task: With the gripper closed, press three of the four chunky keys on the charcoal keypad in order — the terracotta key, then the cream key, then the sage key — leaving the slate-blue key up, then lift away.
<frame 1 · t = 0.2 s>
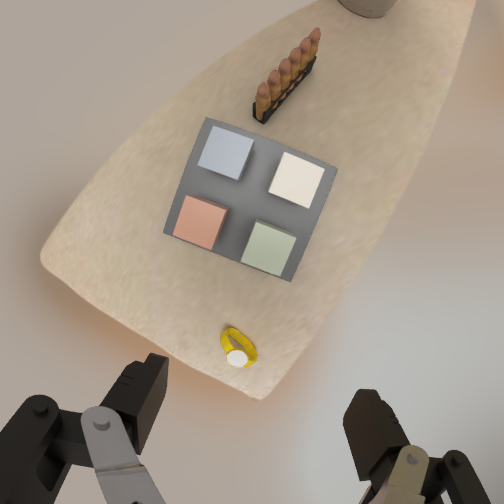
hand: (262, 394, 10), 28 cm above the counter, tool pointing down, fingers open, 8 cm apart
slate key: (227, 154, 30), point 5 cm above the counter, slide at 0.0 cm
sage key: (267, 246, 32), point 5 cm above the counter, slide at 0.0 cm
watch: (240, 337, 41), on the counter
terracotta key: (201, 220, 32), point 5 cm above the counter, slide at 0.0 cm
ammunition clip: (282, 92, 33), on the counter
keypad board: (249, 198, 36), on the counter
cream key: (294, 180, 31), point 5 cm above the counter, slide at 0.0 cm
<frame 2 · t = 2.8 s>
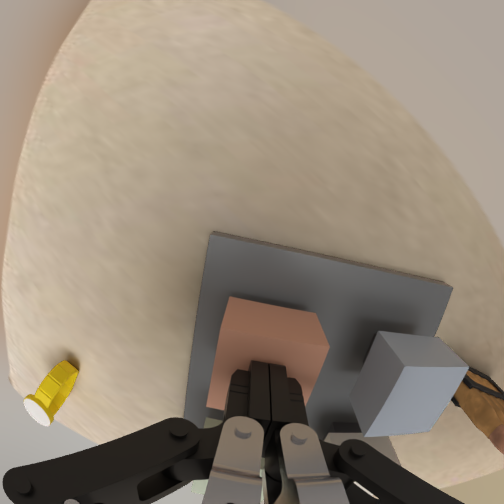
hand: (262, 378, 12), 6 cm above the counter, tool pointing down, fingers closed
slate key: (407, 385, 12), point 5 cm above the counter, slide at 0.0 cm
sage key: (234, 463, 14), point 5 cm above the counter, slide at 0.0 cm
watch: (71, 374, 20), on the counter
terracotta key: (263, 360, 13), point 4 cm above the counter, slide at 1.1 cm, touching gripper
ammunition clip: (461, 372, 19), on the counter
keypad board: (306, 381, 18), on the counter
cream key: (350, 469, 14), point 5 cm above the counter, slide at 0.0 cm
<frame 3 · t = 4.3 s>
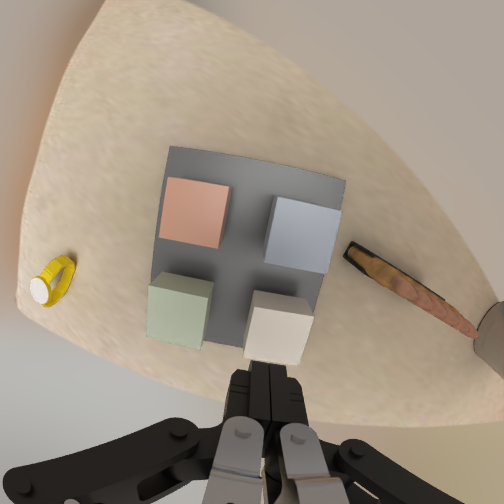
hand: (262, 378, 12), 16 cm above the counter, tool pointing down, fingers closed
slate key: (299, 232, 21), point 5 cm above the counter, slide at 0.0 cm
sage key: (179, 309, 23), point 5 cm above the counter, slide at 0.0 cm
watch: (69, 273, 28), on the counter
terracotta key: (196, 210, 22), point 4 cm above the counter, slide at 1.4 cm
ammunition clip: (385, 271, 28), on the counter
keypad board: (239, 256, 27), on the counter
cream key: (276, 327, 23), point 5 cm above the counter, slide at 0.0 cm
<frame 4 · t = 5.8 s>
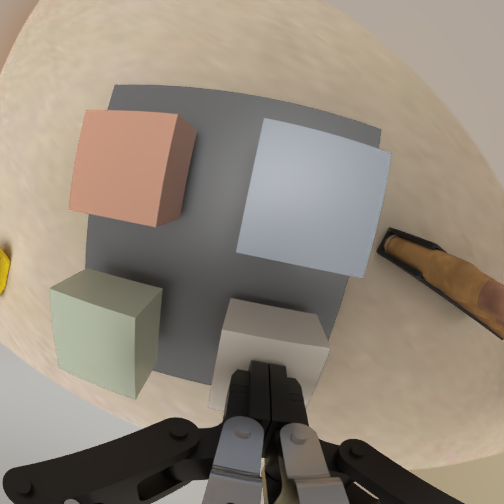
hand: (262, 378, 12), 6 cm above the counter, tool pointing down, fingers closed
slate key: (309, 198, 11), point 5 cm above the counter, slide at 0.0 cm
sage key: (106, 330, 12), point 5 cm above the counter, slide at 0.0 cm
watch: (5, 269, 18), on the counter
terracotta key: (133, 166, 12), point 4 cm above the counter, slide at 1.4 cm
ammunition clip: (434, 275, 17), on the counter
keypad board: (212, 248, 17), on the counter
cream key: (265, 361, 13), point 4 cm above the counter, slide at 0.8 cm, touching gripper
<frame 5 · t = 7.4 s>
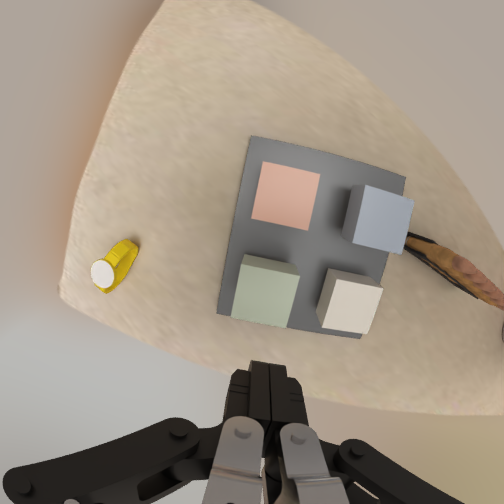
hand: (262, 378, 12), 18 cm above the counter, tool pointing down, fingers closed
slate key: (377, 218, 22), point 5 cm above the counter, slide at 0.0 cm
sage key: (264, 290, 24), point 5 cm above the counter, slide at 0.0 cm
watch: (128, 260, 30), on the counter
terracotta key: (284, 195, 24), point 4 cm above the counter, slide at 1.4 cm
ammunition clip: (433, 260, 28), on the counter
keypad board: (312, 243, 28), on the counter
cream key: (348, 301, 25), point 4 cm above the counter, slide at 1.4 cm
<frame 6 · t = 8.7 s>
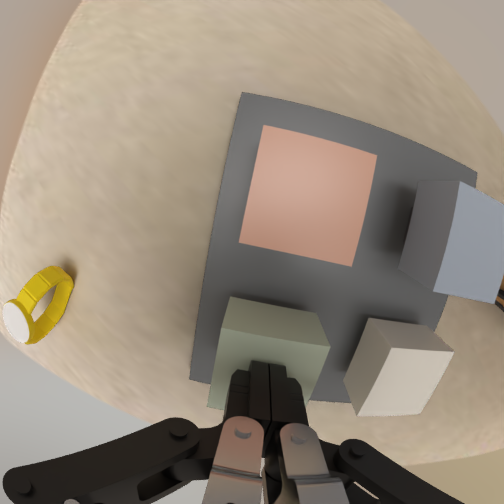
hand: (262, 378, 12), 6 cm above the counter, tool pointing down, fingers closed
slate key: (460, 241, 11), point 5 cm above the counter, slide at 0.0 cm
sage key: (264, 360, 13), point 4 cm above the counter, slide at 0.8 cm, touching gripper
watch: (64, 292, 18), on the counter
terracotta key: (304, 195, 12), point 4 cm above the counter, slide at 1.4 cm
ammunition clip: (495, 290, 17), on the counter
keypad board: (341, 274, 17), on the counter
cream key: (396, 368, 14), point 4 cm above the counter, slide at 1.4 cm
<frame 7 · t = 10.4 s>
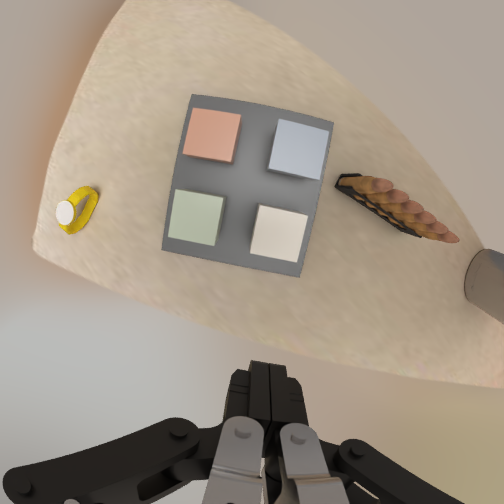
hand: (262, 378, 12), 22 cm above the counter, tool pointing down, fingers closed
slate key: (296, 151, 25), point 5 cm above the counter, slide at 0.0 cm
sage key: (198, 215, 28), point 4 cm above the counter, slide at 1.4 cm
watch: (90, 208, 32), on the counter
terracotta key: (213, 136, 26), point 4 cm above the counter, slide at 1.4 cm
ammunition clip: (373, 203, 32), on the counter
keypad board: (246, 183, 31), on the counter
cream key: (277, 231, 28), point 4 cm above the counter, slide at 1.4 cm
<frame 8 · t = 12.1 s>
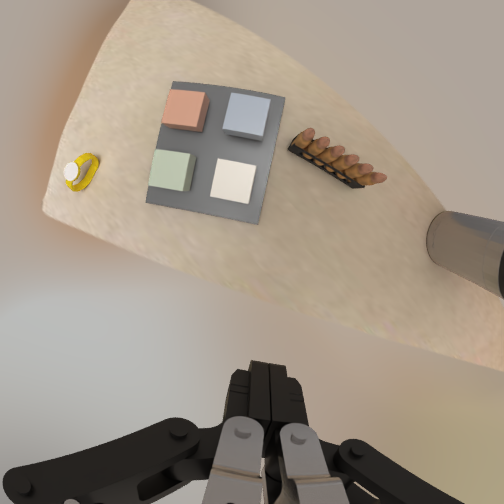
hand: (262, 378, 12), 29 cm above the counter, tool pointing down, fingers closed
slate key: (247, 117, 31), point 5 cm above the counter, slide at 0.0 cm
sage key: (172, 170, 34), point 4 cm above the counter, slide at 1.4 cm
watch: (92, 172, 38), on the counter
terracotta key: (186, 110, 32), point 4 cm above the counter, slide at 1.4 cm
ammunition clip: (323, 163, 37), on the counter
keypad board: (214, 148, 37), on the counter
cream key: (234, 181, 34), point 4 cm above the counter, slide at 1.4 cm
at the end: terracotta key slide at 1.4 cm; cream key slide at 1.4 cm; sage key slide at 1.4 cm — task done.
